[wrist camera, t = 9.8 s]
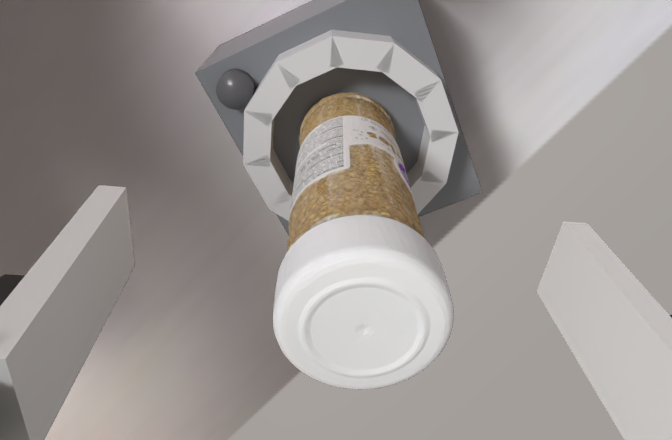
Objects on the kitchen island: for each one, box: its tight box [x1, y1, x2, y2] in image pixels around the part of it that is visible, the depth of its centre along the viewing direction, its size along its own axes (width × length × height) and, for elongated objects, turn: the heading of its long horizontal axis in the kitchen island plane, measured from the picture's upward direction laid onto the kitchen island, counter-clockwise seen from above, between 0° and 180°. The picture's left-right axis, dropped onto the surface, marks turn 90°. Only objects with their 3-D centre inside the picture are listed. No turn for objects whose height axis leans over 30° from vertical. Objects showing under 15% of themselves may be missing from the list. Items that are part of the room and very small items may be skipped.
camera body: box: [195, 0, 482, 235], centre depth 26 cm, size 11×10×8 cm
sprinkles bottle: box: [273, 92, 454, 390], centre depth 18 cm, size 5×5×13 cm
